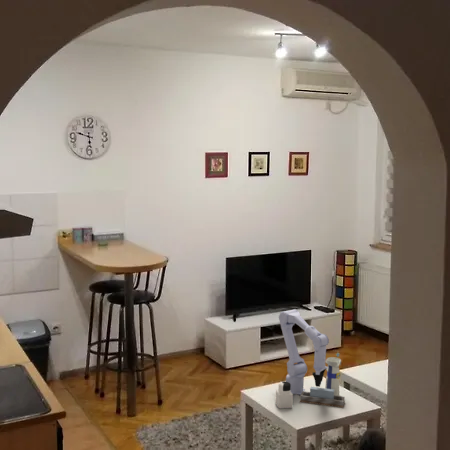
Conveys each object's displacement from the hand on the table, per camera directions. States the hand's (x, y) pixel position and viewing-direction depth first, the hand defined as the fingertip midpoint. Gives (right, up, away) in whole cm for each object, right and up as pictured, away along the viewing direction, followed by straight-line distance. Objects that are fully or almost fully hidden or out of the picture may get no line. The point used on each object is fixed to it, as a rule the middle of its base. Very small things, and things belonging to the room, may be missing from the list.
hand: (318, 383), depth 313 cm
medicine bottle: (-18, -10, -4) cm, 21 cm away
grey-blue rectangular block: (+2, -9, +2) cm, 9 cm away
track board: (+2, -10, +2) cm, 10 cm away
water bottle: (+9, -9, +12) cm, 17 cm away
